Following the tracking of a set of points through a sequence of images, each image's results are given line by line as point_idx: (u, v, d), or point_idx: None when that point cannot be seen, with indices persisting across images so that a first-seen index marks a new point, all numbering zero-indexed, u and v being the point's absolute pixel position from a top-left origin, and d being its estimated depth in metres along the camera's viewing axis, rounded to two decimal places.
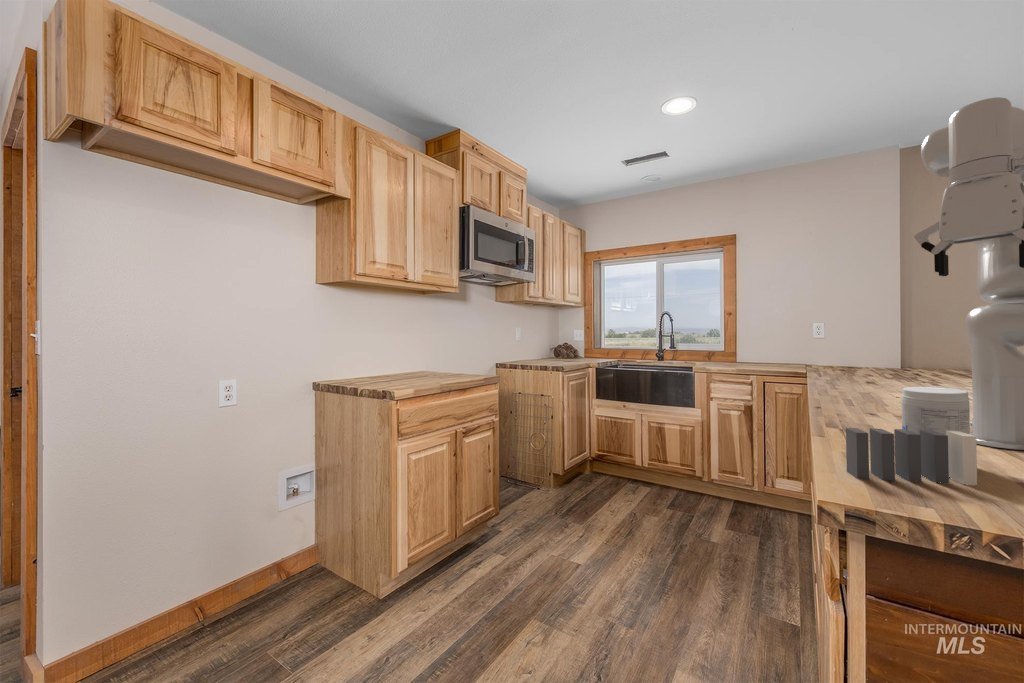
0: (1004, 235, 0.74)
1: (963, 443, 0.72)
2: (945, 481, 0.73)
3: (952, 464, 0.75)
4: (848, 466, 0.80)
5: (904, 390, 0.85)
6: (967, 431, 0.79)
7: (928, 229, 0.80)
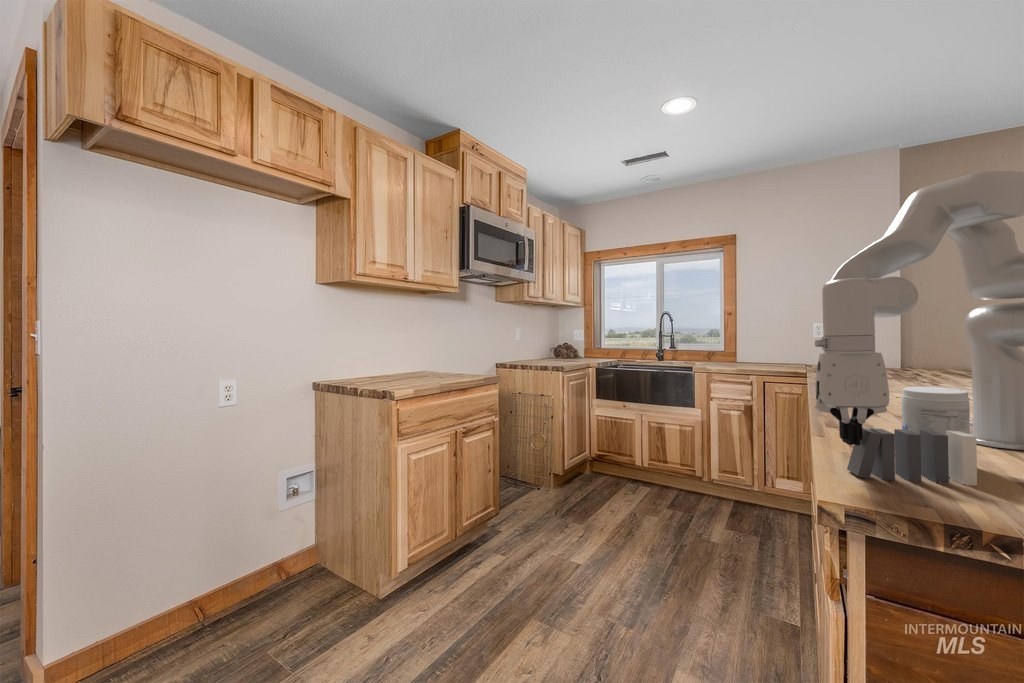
0: None
1: (963, 443, 0.72)
2: (945, 481, 0.73)
3: (952, 464, 0.75)
4: (850, 464, 0.80)
5: (904, 390, 0.85)
6: (967, 431, 0.79)
7: None
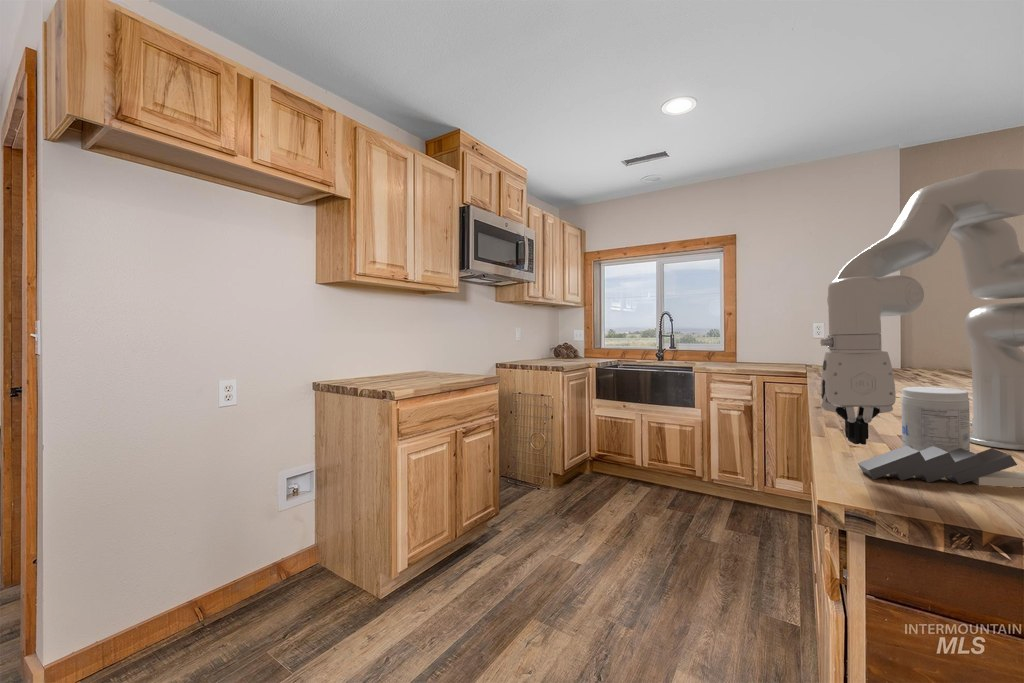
0: None
1: None
2: (960, 480, 0.72)
3: None
4: (865, 462, 0.79)
5: (904, 390, 0.85)
6: (967, 431, 0.79)
7: None
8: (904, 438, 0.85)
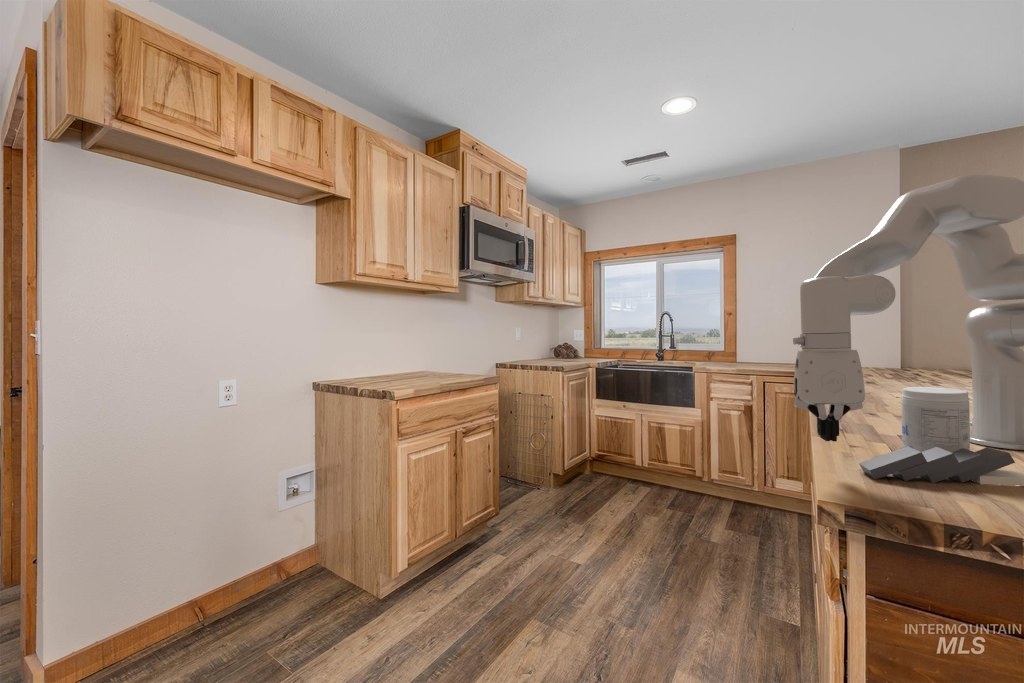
0: None
1: None
2: (963, 479, 0.73)
3: None
4: (867, 462, 0.79)
5: (904, 390, 0.85)
6: (967, 431, 0.79)
7: None
8: (904, 438, 0.85)
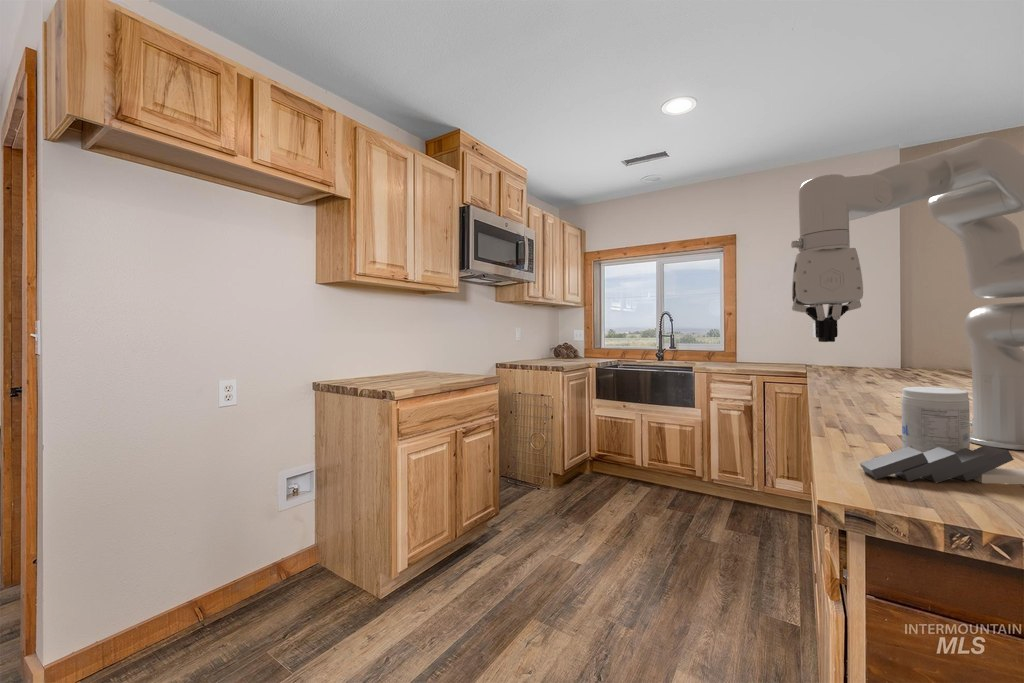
0: None
1: None
2: (967, 477, 0.73)
3: None
4: (868, 462, 0.79)
5: (904, 390, 0.85)
6: (967, 431, 0.79)
7: None
8: (904, 438, 0.85)
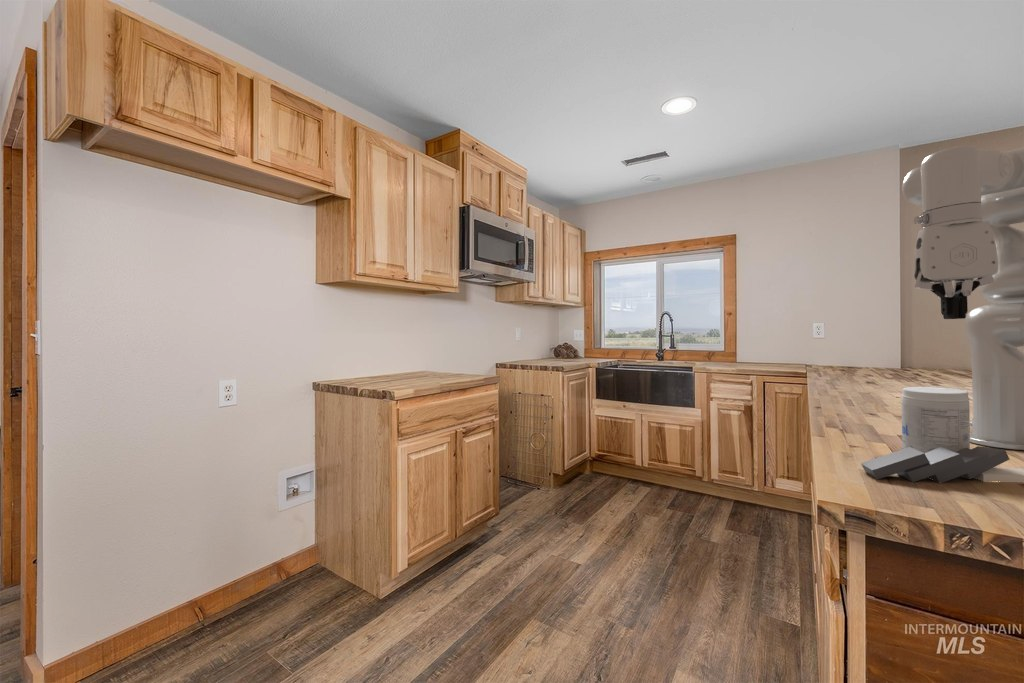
0: None
1: None
2: (970, 475, 0.73)
3: (989, 470, 0.75)
4: (869, 462, 0.79)
5: (904, 390, 0.85)
6: (967, 431, 0.79)
7: None
8: (904, 438, 0.85)
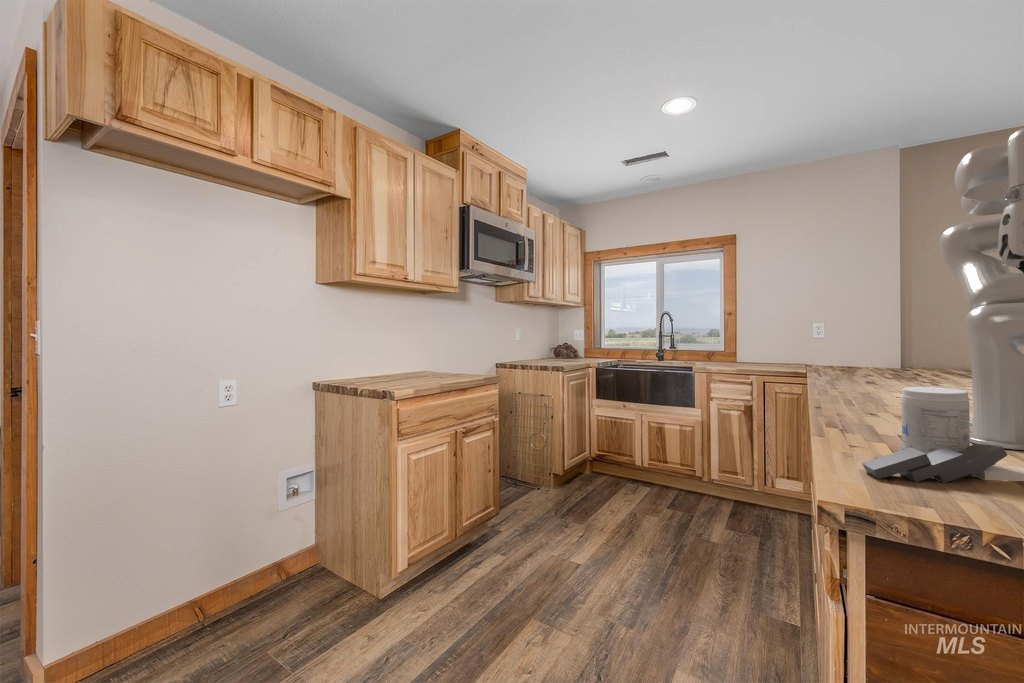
0: None
1: None
2: (973, 473, 0.74)
3: (989, 468, 0.76)
4: (870, 462, 0.79)
5: (904, 390, 0.85)
6: (967, 431, 0.79)
7: None
8: (904, 438, 0.85)
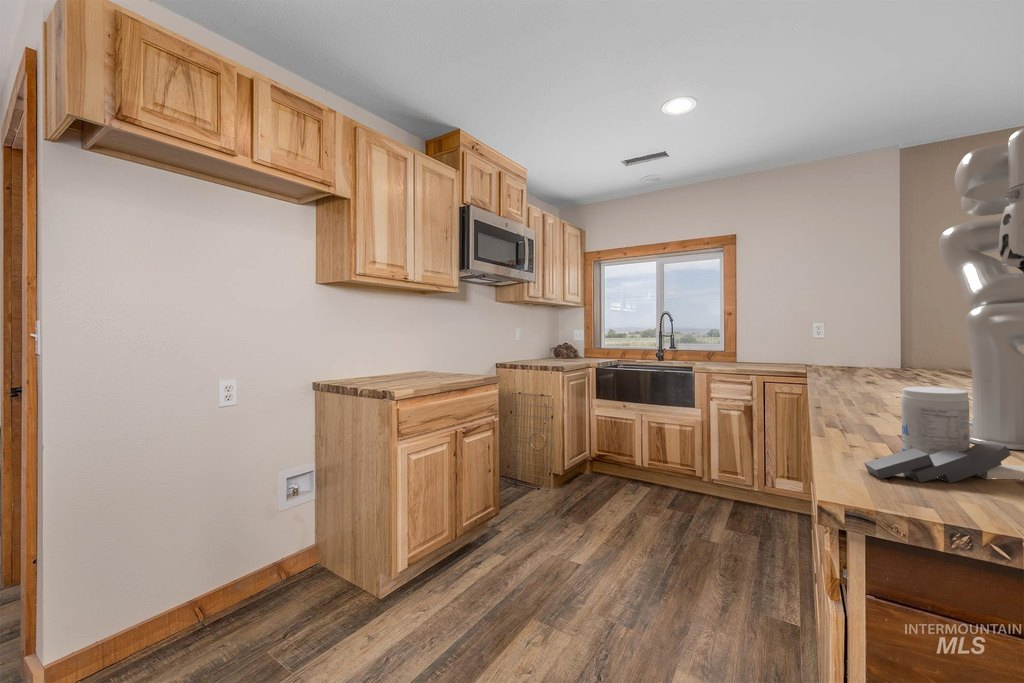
0: None
1: None
2: (979, 473, 0.74)
3: None
4: (872, 462, 0.79)
5: (904, 390, 0.85)
6: (967, 431, 0.79)
7: None
8: (904, 438, 0.85)
